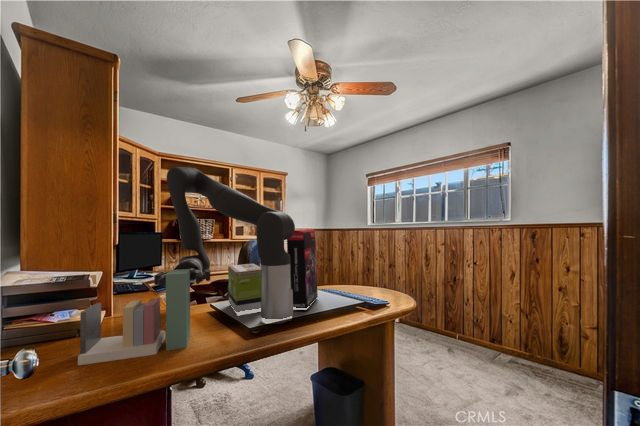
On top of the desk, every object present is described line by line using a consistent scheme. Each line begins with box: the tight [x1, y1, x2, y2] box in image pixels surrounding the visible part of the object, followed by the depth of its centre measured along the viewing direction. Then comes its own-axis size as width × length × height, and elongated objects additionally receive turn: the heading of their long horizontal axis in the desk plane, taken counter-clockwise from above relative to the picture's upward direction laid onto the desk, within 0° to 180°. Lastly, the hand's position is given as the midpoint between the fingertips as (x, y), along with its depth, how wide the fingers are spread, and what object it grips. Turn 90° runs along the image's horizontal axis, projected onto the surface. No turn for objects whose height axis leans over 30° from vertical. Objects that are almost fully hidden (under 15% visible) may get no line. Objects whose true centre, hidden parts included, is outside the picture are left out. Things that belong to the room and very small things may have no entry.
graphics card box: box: [286, 228, 319, 308], centre depth 104 cm, size 17×7×27 cm, turn 168°
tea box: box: [227, 263, 261, 312], centre depth 101 cm, size 15×10×15 cm, turn 27°
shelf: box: [77, 297, 166, 366], centre depth 69 cm, size 15×10×11 cm, turn 108°
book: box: [165, 269, 191, 351], centre depth 73 cm, size 4×7×18 cm, turn 18°
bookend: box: [79, 302, 102, 355], centre depth 67 cm, size 1×8×9 cm, turn 18°
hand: (180, 281), depth 75 cm, fingers open, 8 cm apart
